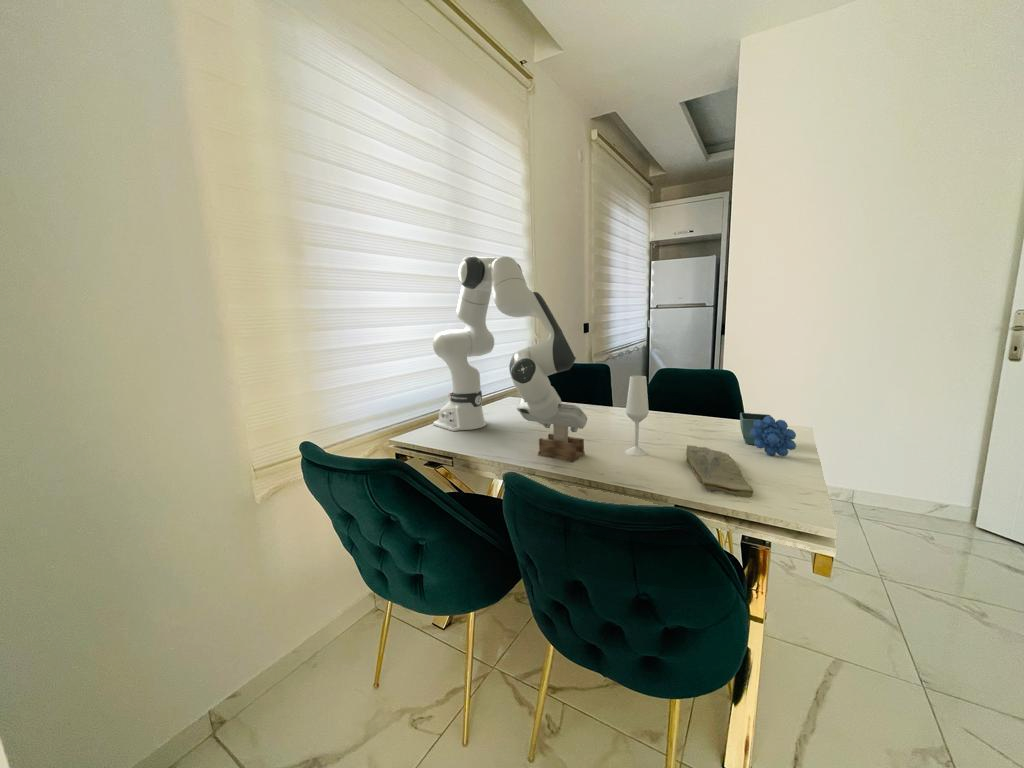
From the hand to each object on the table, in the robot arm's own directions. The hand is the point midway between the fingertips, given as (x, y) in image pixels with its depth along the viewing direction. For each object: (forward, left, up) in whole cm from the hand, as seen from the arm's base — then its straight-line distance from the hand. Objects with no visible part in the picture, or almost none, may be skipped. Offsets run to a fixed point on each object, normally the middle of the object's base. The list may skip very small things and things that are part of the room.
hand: (561, 428), depth 122 cm
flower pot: (+49, +42, -9) cm, 65 cm away
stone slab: (+42, +9, -9) cm, 43 cm away
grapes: (+54, +30, -9) cm, 62 cm away
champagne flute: (+19, +14, -9) cm, 25 cm away
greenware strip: (0, 0, -7) cm, 8 cm away
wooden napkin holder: (0, 0, -9) cm, 9 cm away
